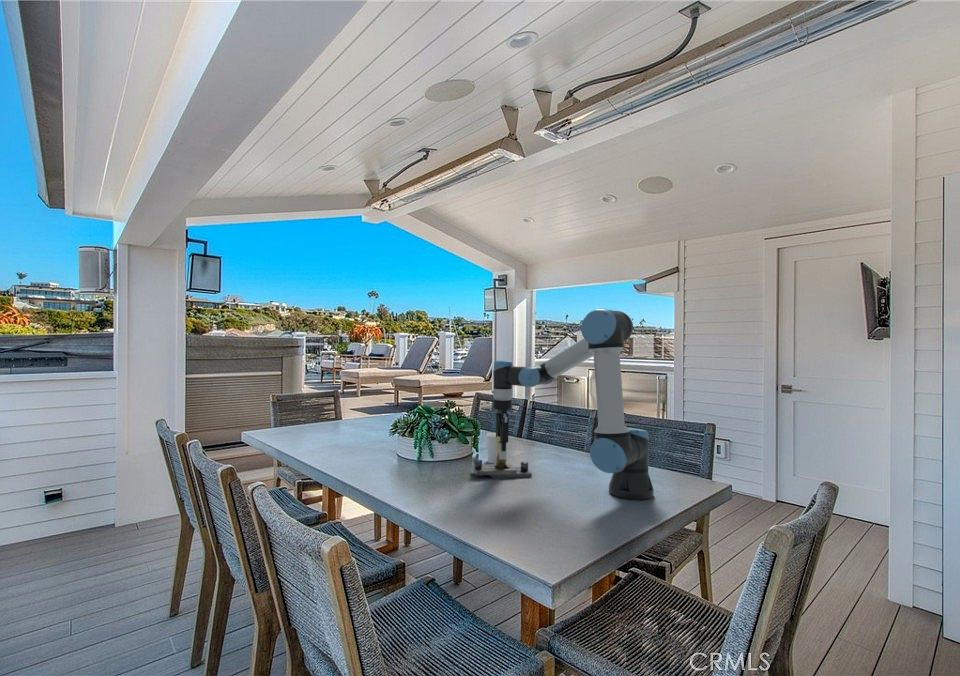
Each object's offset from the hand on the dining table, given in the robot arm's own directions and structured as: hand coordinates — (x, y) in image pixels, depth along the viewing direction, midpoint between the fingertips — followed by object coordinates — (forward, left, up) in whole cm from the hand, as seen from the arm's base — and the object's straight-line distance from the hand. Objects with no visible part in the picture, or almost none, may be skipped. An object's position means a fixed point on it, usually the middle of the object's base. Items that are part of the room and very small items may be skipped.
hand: (501, 457), depth 192 cm
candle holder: (-3, -21, -7) cm, 22 cm away
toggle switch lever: (0, 0, -4) cm, 4 cm away
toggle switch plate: (0, 0, -7) cm, 7 cm away
